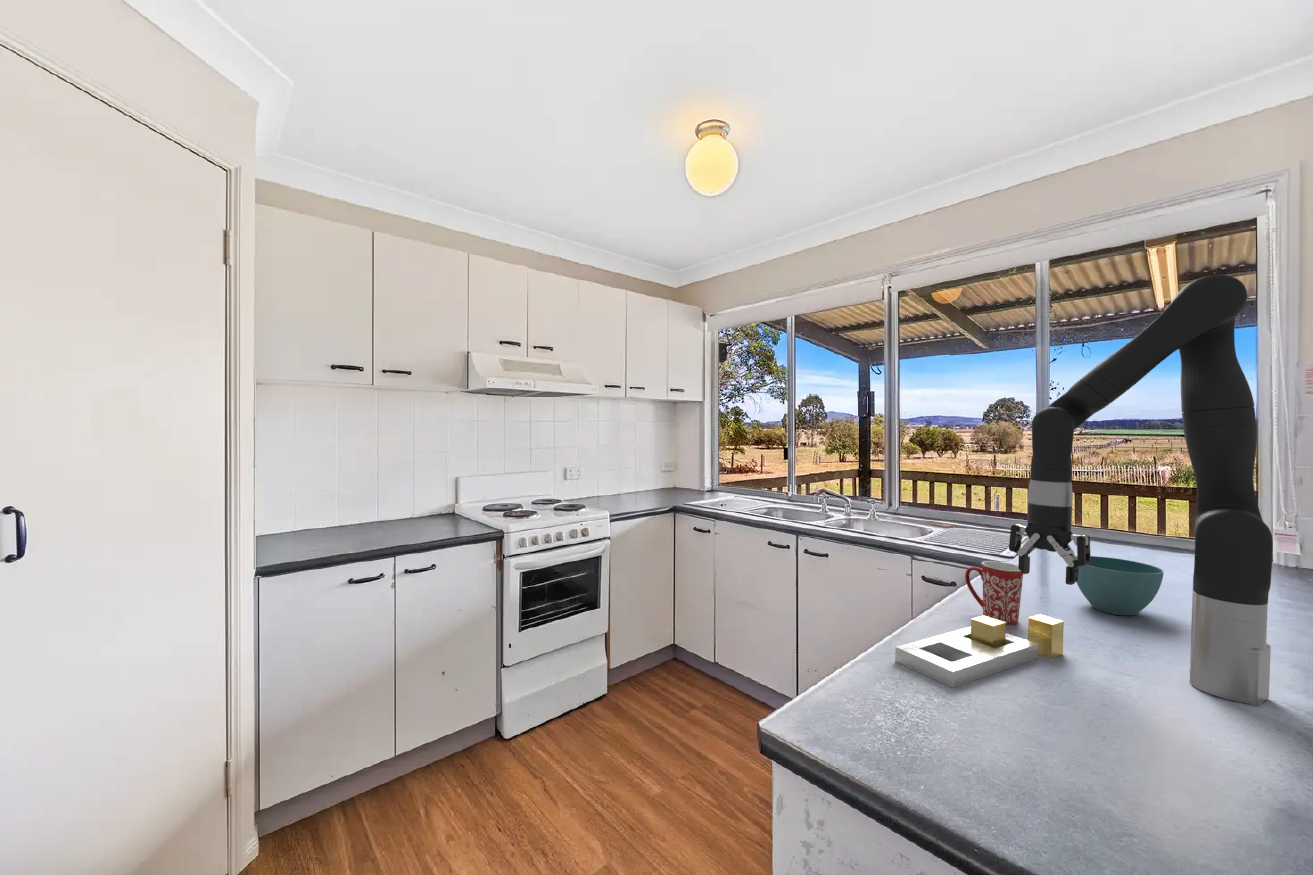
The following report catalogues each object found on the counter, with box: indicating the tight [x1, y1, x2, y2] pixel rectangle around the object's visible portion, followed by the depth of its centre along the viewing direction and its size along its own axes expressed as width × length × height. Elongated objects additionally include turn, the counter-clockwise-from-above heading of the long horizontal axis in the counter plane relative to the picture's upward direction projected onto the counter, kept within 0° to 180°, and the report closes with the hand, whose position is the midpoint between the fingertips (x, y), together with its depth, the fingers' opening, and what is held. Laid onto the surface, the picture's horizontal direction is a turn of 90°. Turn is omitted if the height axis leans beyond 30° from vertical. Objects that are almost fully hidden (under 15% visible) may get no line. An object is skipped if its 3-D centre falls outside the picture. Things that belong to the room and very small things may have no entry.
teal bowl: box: [1075, 555, 1165, 616], centre depth 138 cm, size 18×18×12 cm
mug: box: [964, 560, 1024, 626], centre depth 132 cm, size 13×9×14 cm
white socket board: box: [894, 625, 1038, 689], centre depth 107 cm, size 28×12×3 cm, turn 118°
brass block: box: [1027, 613, 1065, 659], centre depth 112 cm, size 4×4×7 cm
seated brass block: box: [970, 614, 1007, 649], centre depth 111 cm, size 4×4×7 cm
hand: (1046, 578), depth 112 cm, fingers open, 8 cm apart
